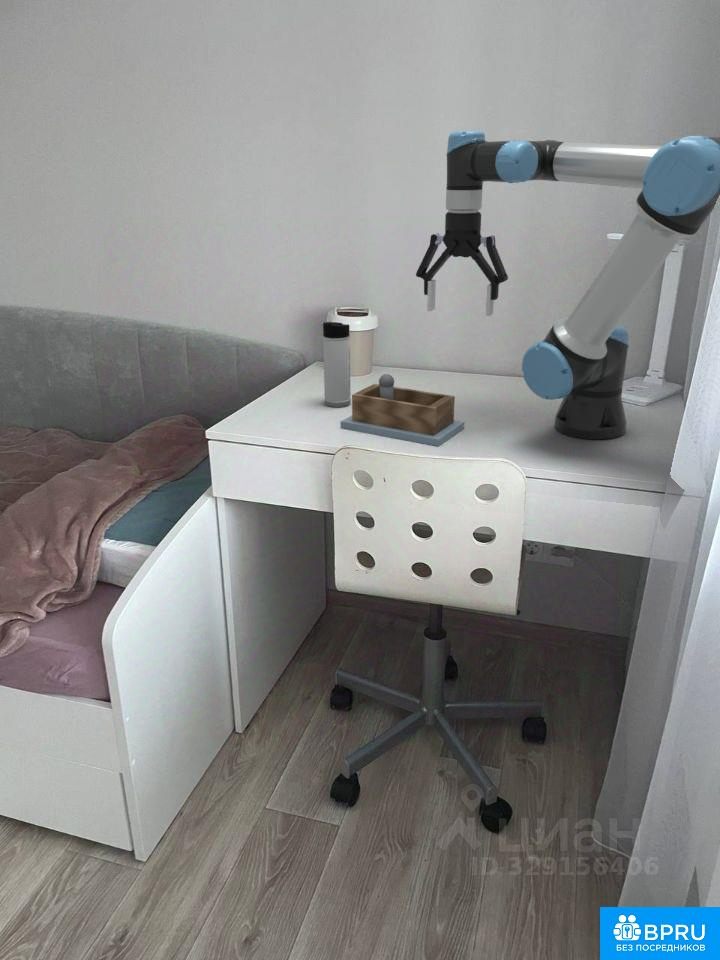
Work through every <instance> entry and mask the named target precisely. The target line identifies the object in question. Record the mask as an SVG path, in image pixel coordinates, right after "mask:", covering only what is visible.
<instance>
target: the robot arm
mask: <svg viewBox="0 0 720 960" xmlns="http://www.w3.org/2000/svg"><path fill="white" fill-rule="evenodd" d="M527 181H549V182H565V183H574V184H575V183H576V184H588V185H597V186H598V185H600V186H609V187H621V188H633V189H641V191H640V193H639V195H638V196H637V197H636V199H635V203H636V209H637V214H636V215H635V217H634V218H633V219H632V221H631V222H630V224H629V225H628V227H627V228H626V230H625V232H624V233H623V234H622V236H621V238H620V239H619V241H618V242H617V244H616V245H615V246H614V248H613V250H612V251H611V253H610V254H609V255H608V257H607V258H606V260H605V261H604V263H603V264H602V266H601V267H600V269H599V270H598V272H597V273H596V275H595V277H594V278H593V279H592V281H591V282H590V284H589V286H588V287H587V289H586V290H585V291H584V293H583V295H582V296H581V297H580V299H579V300H578V301H577V303H576V305H575V306H574V308H573V310H572V311H571V312H570V314H569V315H568V317H565V318H564V317H563V318H560V319H559V318H558V319H557V320H556V321H555V322H554V324H553V325H552V327H551V328H550V330H549V331H548V333H547V334H546V336H545V337H544V339H543V340H542V341H538V342H535V343H534V344H532V345H530V347H528V348H527V349H526V351H525V352H524V354H523V357H522V359H521V360H522V361H521V371H522V372H523V379H524V382H525V384H526V385H527V387H528V389H529V390H530V391H531V392H532V393H533V394H535V395H536V396H537V397H539V398H541V399H544V400H549V401H551V400H552V401H553V400H557V399H562V400H561V402H560V404H559V407H558V409H557V411H556V414H555V416H554V425H553V426H554V428H555V429H556V430H557V431H559V432H560V433H562V434H564V435H567V436H570V437H574V438H578V439H586V440H610V439H615V438H619V437H622V436H623V435H624V434H625V433H626V429H627V417H626V412H625V407H624V402H623V398H622V394H623V387H624V379H625V372H626V365H627V357H628V351H629V350H628V349H629V345H630V344H629V331H628V329H627V328H626V327H624V326H620V325H619V324H620V323H621V321H622V320H623V318H624V317H625V316H626V315H627V313H628V312H629V310H630V309H631V308H632V306H633V305H634V303H635V302H636V301H637V300H638V298H639V297H640V295H641V293H642V292H643V291H644V290H645V289H646V287H647V286H648V284H649V283H650V282H651V280H652V279H653V278H654V277H655V274H656V273H657V272H658V270H659V269H660V268H661V266H663V264H664V263H665V261H666V260H667V258H668V257H669V256H670V254H671V253H672V251H673V250H674V248H676V245H678V243H679V241H680V240H682V239H684V238H689V237H690V238H691V237H692V236H695V235H696V233H697V232H698V231H699V230H700V228H701V227H702V225H704V223H705V221H706V220H707V219H708V218H709V216H710V215H711V213H712V212H713V211H714V210H713V209H714V206H715V204H716V201H717V199H718V197H719V195H720V136H704V135H687V136H685V137H680V138H676V139H674V140H672V141H670V142H667V143H666V144H664V145H646V144H644V145H643V144H621V143H601V142H600V143H599V142H580V141H579V142H578V141H559V140H556V139H555V140H553V139H550V140H549V139H548V140H533V141H532V140H514V139H513V140H502V141H501V140H499V141H487V140H486V134H485V132H484V131H481V130H478V131H477V130H474V131H473V130H471V131H470V130H468V131H453V132H451V133H450V134H449V135H448V138H447V149H446V190H445V191H446V193H445V209H446V210H447V211H448V212H446V213H445V214H444V215H445V218H444V219H445V220H444V221H445V222H444V230H445V231H444V235H442V234H439V233H438V232H437V233H432V234H431V235H430V240H429V245H428V247H427V250H426V252H425V254H424V256H423V258H422V261H421V262H420V264H419V267H418V269H417V270H416V273H415V276H416V277H417V278H421V280H423V294H424V296H427V307H426V308H427V310H426V311H427V312H432V311H434V310H435V309H436V285H437V284H436V283H437V280H436V279H434V277H435V276H436V274H437V273H438V272H439V270H440V269H441V268H442V267H443V266H444V265H445V263H446V262H447V261H448V260H449V259H450V258H451V257H453V258H458V257H462V258H469V257H470V258H471V259H472V260H473V261H474V262H475V263H476V265H477V266H478V268H479V269H480V270H481V272H482V273H483V274H484V276H485V278H486V279H488V281H489V284H487V285H486V301H485V304H486V305H485V316H486V317H489V316H492V315H493V314H494V301H495V300H498V298H499V289H500V288H499V287H500V286H499V285H500V284H502V283H504V282H506V281H507V280H508V279H509V277H508V274H507V271H506V268H505V267H504V264H503V262H502V261H503V260H502V259H501V256H500V254H499V251H498V249H497V247H496V236H495V235H489V236H482V234H481V231H482V230H481V228H482V213H481V212H480V211H481V209H482V208H483V206H482V204H483V203H482V202H483V187H484V186H483V185H484V182H492V183H493V182H495V183H507V184H519V183H525V182H527ZM442 242H443V244H444V245H445V247H446V248H445V249H444V251H442V253H441V255H440V256H439V257H438V258H437V259H436V261H435V262H434V263H433V265H431V267H430V264H431V262H432V261H433V258H434V256H435V255H436V252H437V250H438V248H439V246H441V244H442ZM482 244H483V247H484V248H486V251H487V255H488V256H489V259H490V261H491V264H492V267H493V268H494V270H493V268H492V267H491V265H490V264H489V263H488V261H487V259H485V257H484V255H483V253H482V251H481V250H480V248H479V247H480V246H481V245H482ZM429 267H430V268H429Z"/></svg>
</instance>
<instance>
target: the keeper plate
mask: <svg viewBox="0 0 720 960" xmlns="http://www.w3.org/2000/svg"><path fill="white" fill-rule="evenodd" d="M378 384H379V385H380V398H384V399H390V400H393V387H394V385H395V379H394V377H393V376H392V374H389V373H388V374H387V373H384V374H382V375H381V376H380V377H379V379H378ZM340 428H341V429H344V430H345V429H346V430H351V431H356V432H361V433H367V434H371V435H377V436H380V437H381V436H382V437H387V438H392V439H398V440H403V441H408V442H413V443H418V444H423V445H424V444H425V445H430V446H433V447H440V446H441V445H443V444H444V443H446V442H447V441H449V440H450V439H452V438H453V437H454V436H455V435H457V434H458V433H459V432H461V431H463V430H464V429H465V422H464V421H461V420H456V419H455V420H454V423H452V424H451V425H449V426H448V427H446V428H445V429H443V430H442V431H440V432H439V433H437V434H436V435H434V436H432V435H426V434H421V433H415V432H410V431H405V430H399V429H394V428H388V427H383V426H378V425H372V424H367V423H361V422H356V421H352V415H350V416H347V417H346V418H344V419H342V420H341V421H340Z"/></svg>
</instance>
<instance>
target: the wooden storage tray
mask: <svg viewBox="0 0 720 960" xmlns="http://www.w3.org/2000/svg"><path fill="white" fill-rule="evenodd" d="M455 398H456V397H455V395H449V394H443V393H438V392H431V391H425V390H417V389H411V388H405V387H399V386H398V387H397V386H393V400H390V399H384V398H380V385H379V383H373V384H371V385H369V386H366V387H365V388H363V389H361V390H359V391H357V392H355V393H353V394H351V416H352V421H356V422H361V423H367V424H372V425H378V426H383V427H388V428H394V429H399V430H405V431H410V432H415V433H421V434H426V435H432V436H434V435H436V434H437V433H439V432H440V431H442V430H443V429H445V428H446V427H448V426H449V425H451V424H452V423H454V419H455Z"/></svg>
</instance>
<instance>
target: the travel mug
mask: <svg viewBox="0 0 720 960" xmlns="http://www.w3.org/2000/svg"><path fill="white" fill-rule="evenodd" d="M322 327H323V328H322V331H323V333H322V334H323V335H322V338H323V339H322V341H323V342H322V343H323V344H322V346H323V347H322V348H323V376H324V377H323V380H324V382H323V383H324V404H325V405H326V406H328V407H330V408H345V407H348V406H349V405H351V404H352V394H351V339H350V337H351V336H350V324H349V323H347V324H343V323H342V322H336V321H333V322H332V321H327V322H323V324H322Z"/></svg>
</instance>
